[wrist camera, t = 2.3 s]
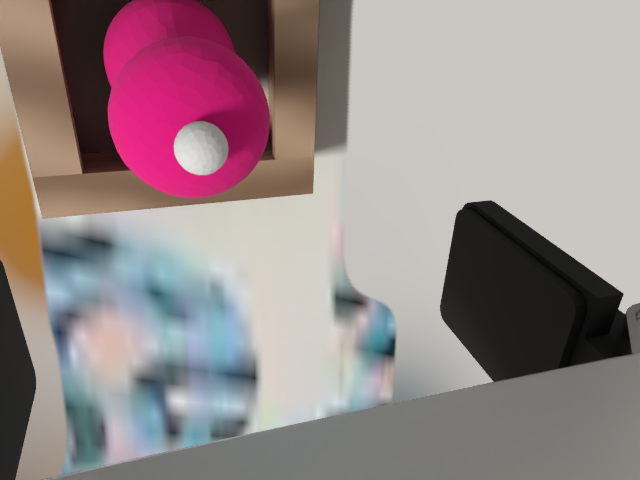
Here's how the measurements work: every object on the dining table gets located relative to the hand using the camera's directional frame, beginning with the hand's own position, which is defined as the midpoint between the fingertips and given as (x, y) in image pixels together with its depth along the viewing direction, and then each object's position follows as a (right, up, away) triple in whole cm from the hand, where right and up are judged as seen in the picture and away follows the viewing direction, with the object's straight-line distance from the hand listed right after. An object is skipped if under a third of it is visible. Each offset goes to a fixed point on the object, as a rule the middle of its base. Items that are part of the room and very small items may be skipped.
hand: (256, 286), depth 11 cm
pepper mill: (-8, +13, +22) cm, 27 cm away
